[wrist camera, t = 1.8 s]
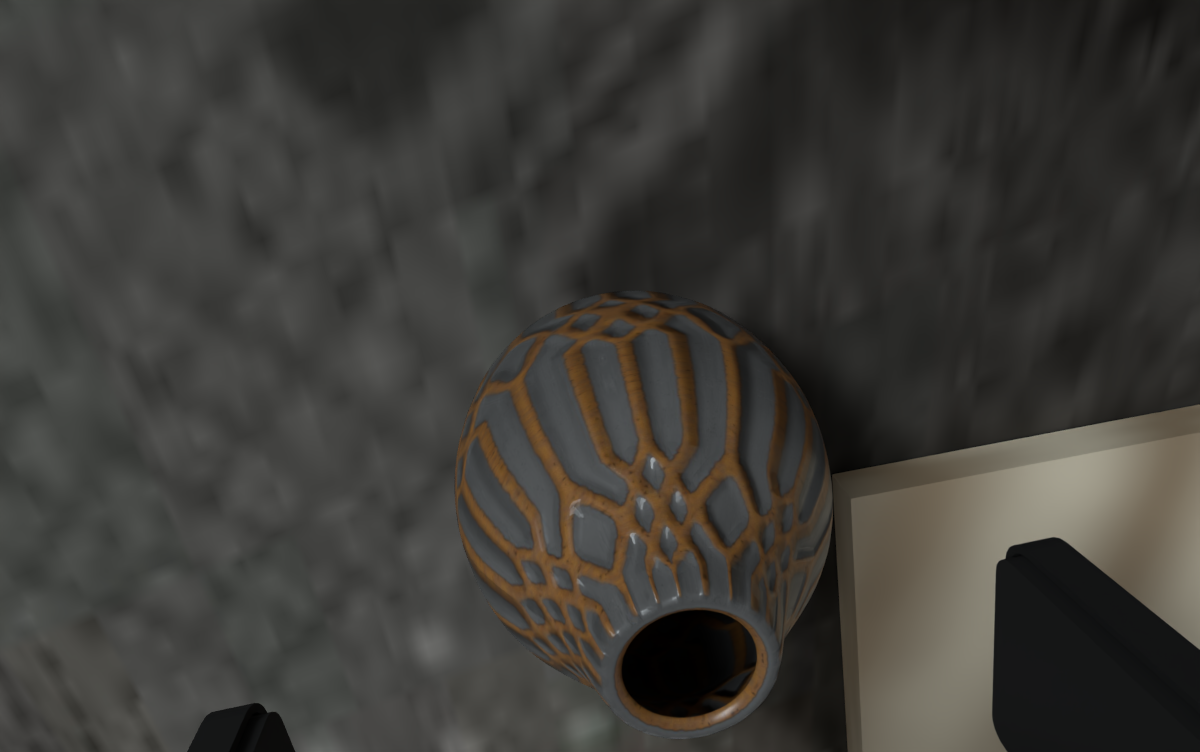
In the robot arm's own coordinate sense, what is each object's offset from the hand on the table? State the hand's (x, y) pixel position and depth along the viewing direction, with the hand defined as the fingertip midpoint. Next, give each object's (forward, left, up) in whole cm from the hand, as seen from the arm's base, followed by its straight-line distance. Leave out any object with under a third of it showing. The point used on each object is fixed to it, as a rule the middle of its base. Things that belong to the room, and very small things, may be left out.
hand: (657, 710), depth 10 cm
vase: (-1, 0, -9) cm, 9 cm away
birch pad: (-13, +10, -9) cm, 18 cm away
